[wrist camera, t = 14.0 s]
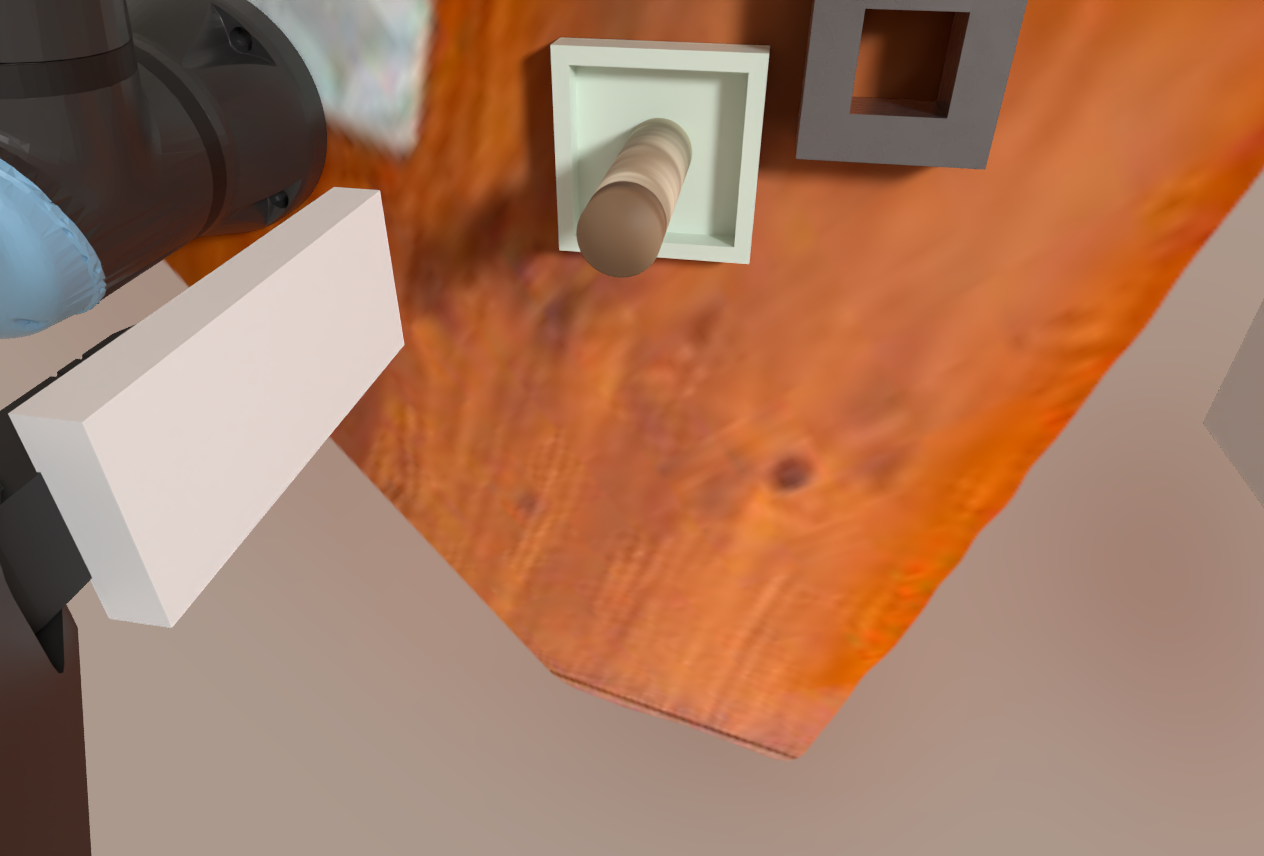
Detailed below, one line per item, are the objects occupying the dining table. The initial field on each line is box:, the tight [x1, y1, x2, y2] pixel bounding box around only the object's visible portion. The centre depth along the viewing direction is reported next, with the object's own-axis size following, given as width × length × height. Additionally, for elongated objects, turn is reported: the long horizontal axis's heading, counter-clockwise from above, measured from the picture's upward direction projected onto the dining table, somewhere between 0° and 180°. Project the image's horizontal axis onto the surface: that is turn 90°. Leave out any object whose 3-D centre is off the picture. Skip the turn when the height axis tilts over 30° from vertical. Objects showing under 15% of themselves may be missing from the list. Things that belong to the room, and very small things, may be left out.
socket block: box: [796, 0, 1028, 169], centre depth 44 cm, size 10×10×4 cm
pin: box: [576, 118, 692, 277], centre depth 44 cm, size 4×4×14 cm
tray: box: [550, 37, 770, 264], centre depth 49 cm, size 12×12×2 cm
